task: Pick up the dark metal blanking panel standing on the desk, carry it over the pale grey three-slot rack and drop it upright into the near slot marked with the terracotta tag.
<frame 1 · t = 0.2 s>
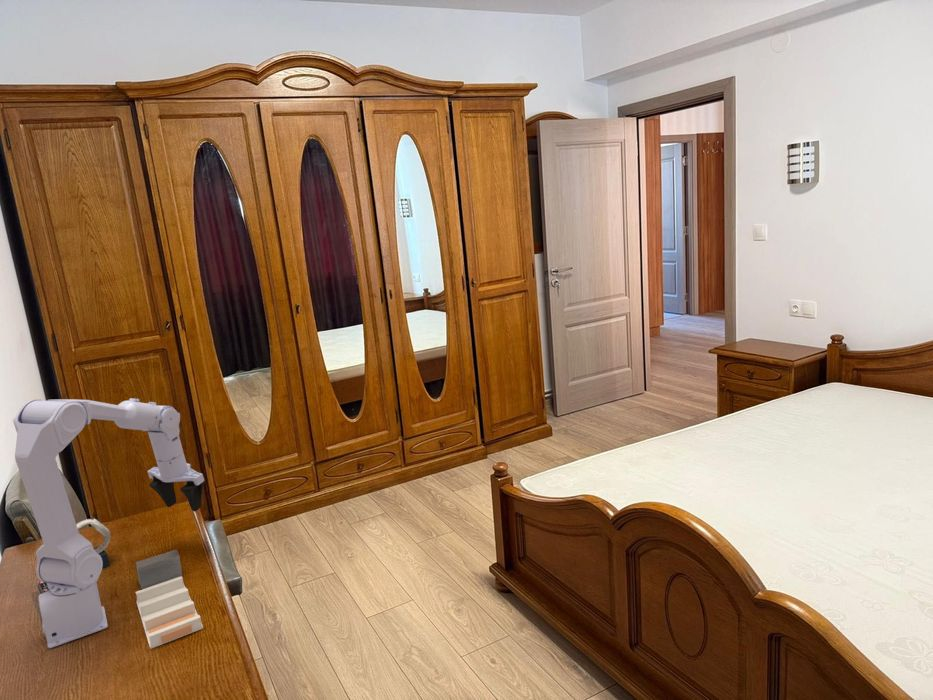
hand: (184, 506, 143), 10 cm above the table, tool pointing down, fingers open, 7 cm apart
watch: (95, 566, 139), on the table
panel: (161, 579, 132), on the table
rack: (168, 615, 119), on the table
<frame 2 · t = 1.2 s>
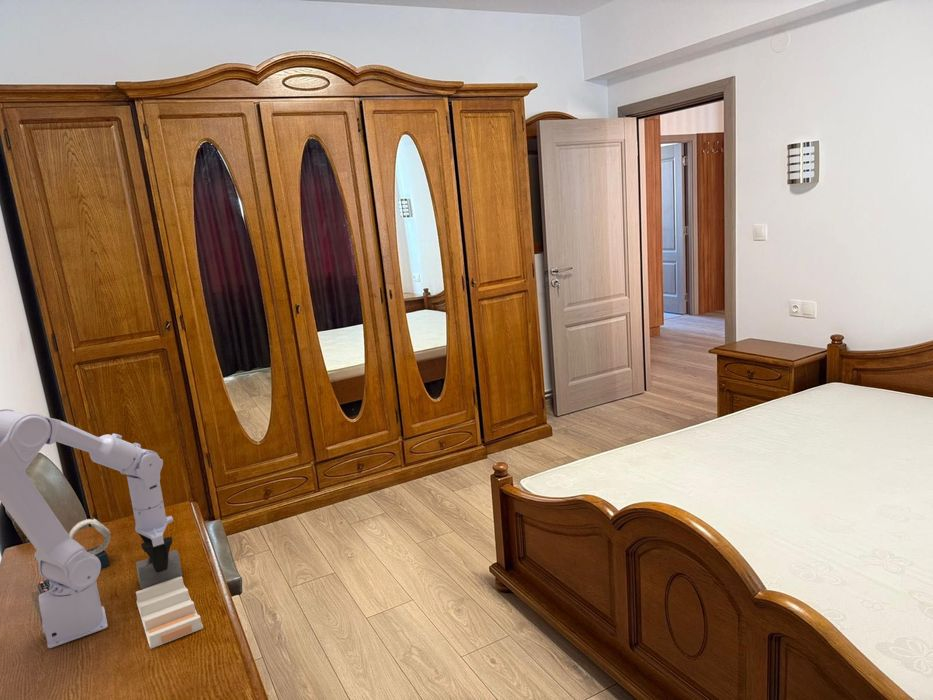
hand: (158, 562, 131), 4 cm above the table, tool pointing down, fingers open, 7 cm apart
nothing on the table moved.
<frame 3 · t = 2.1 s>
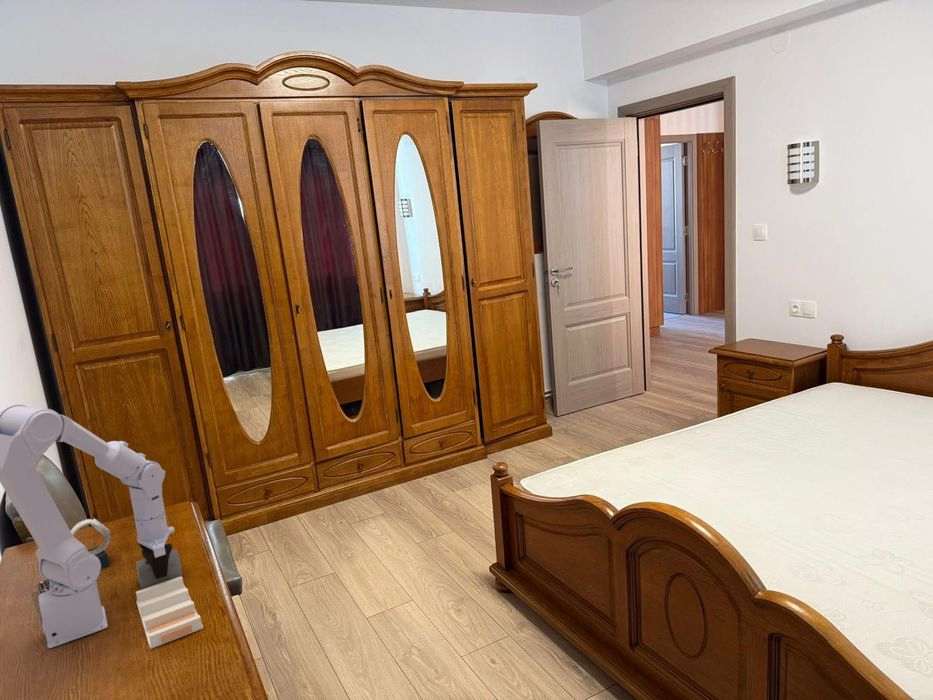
hand: (160, 573, 132), 1 cm above the table, tool pointing down, fingers closed on panel, 3 cm apart
panel: (161, 579, 132), on the table, touching gripper
everything else where it was.
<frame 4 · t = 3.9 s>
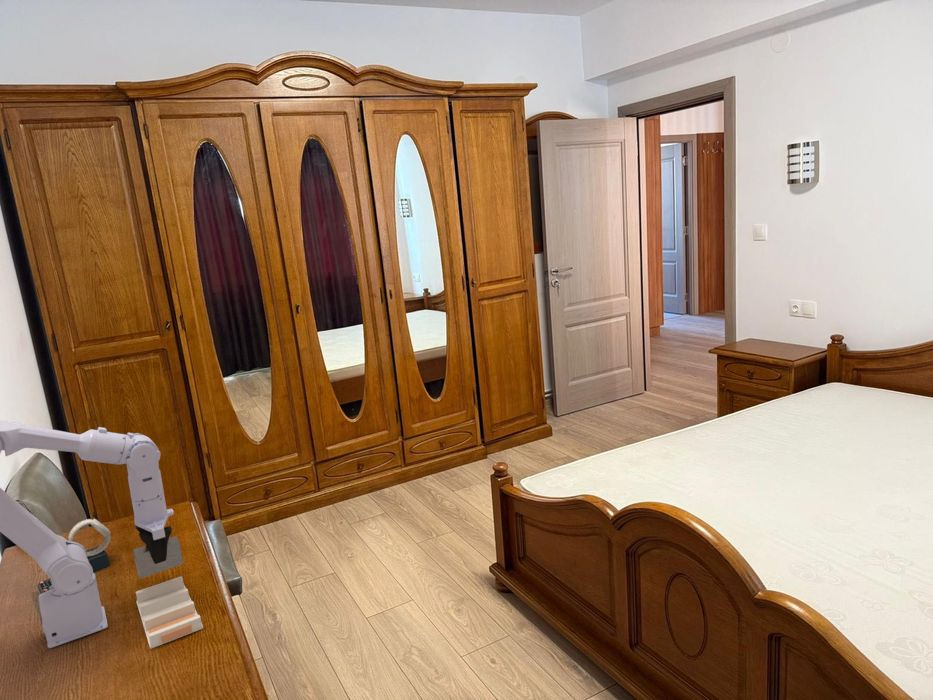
hand: (158, 558, 124), 8 cm above the table, tool pointing down, fingers closed on panel, 3 cm apart
panel: (160, 568, 125), point 6 cm above the table, touching gripper
everything else where it was.
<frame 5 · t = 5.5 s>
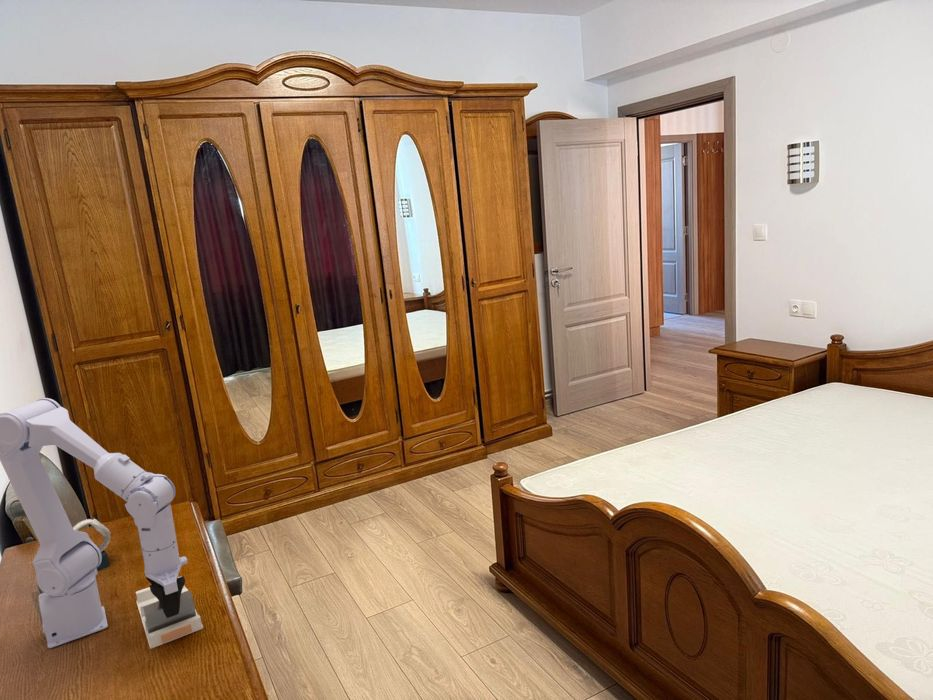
hand: (170, 610, 114), 4 cm above the table, tool pointing down, fingers closed on panel, 3 cm apart
panel: (172, 626, 115), point 1 cm above the table, touching gripper
everything else where it was.
when the fingers open (3 cm above the table, at t = 6.0 s): panel stays where it is, resting on rack.
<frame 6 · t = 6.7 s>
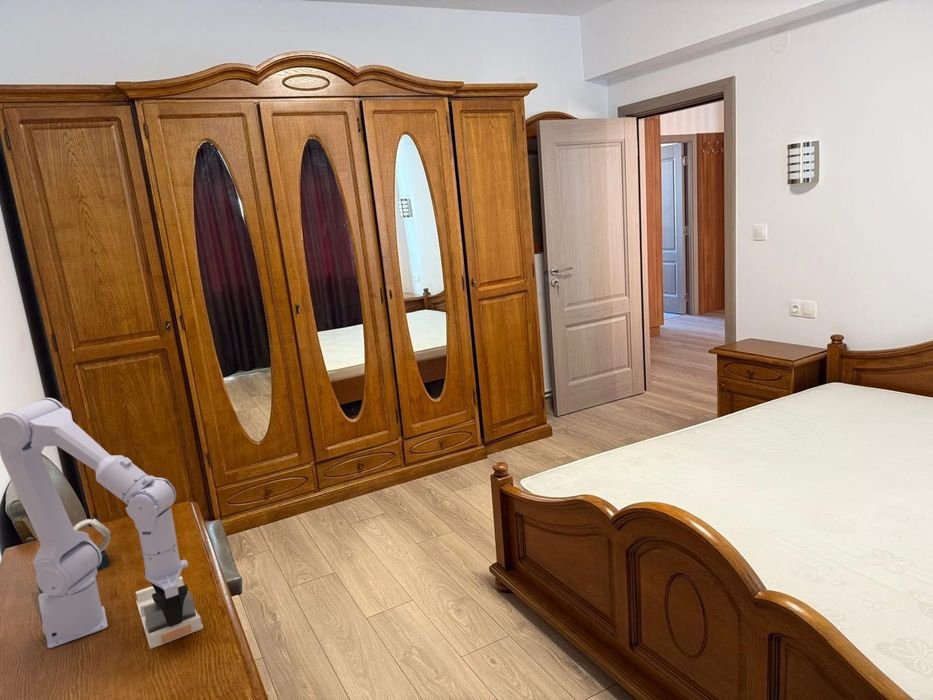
hand: (171, 613, 114), 3 cm above the table, tool pointing down, fingers open, 7 cm apart
panel: (172, 627, 115), point 1 cm above the table, touching rack
everything else where it was.
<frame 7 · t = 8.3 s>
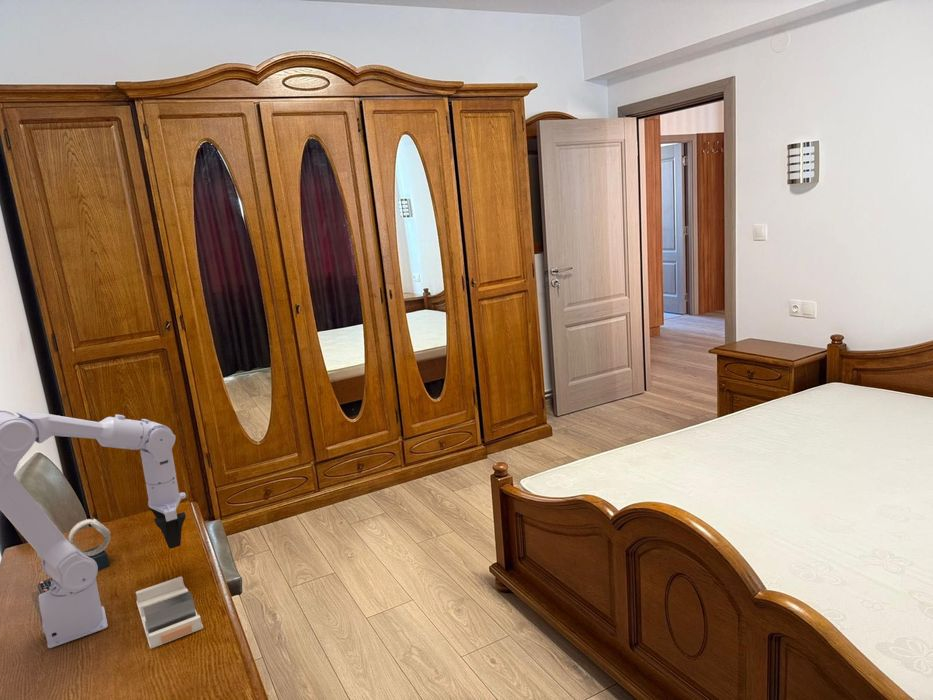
hand: (171, 539, 129), 9 cm above the table, tool pointing down, fingers open, 7 cm apart
nothing on the table moved.
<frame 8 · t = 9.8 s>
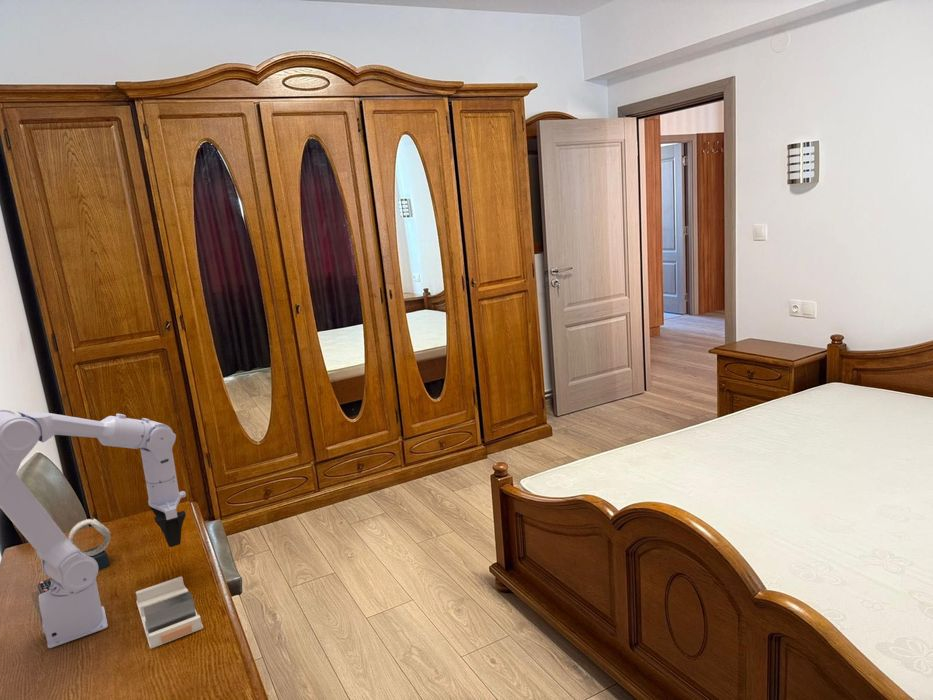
hand: (171, 538, 130), 9 cm above the table, tool pointing down, fingers open, 7 cm apart
nothing on the table moved.
at the end: panel 0.2 cm from the target spot on the rack, point 0.6 cm above the rack's base; panel tilted 0°; the gripper is holding nothing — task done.
